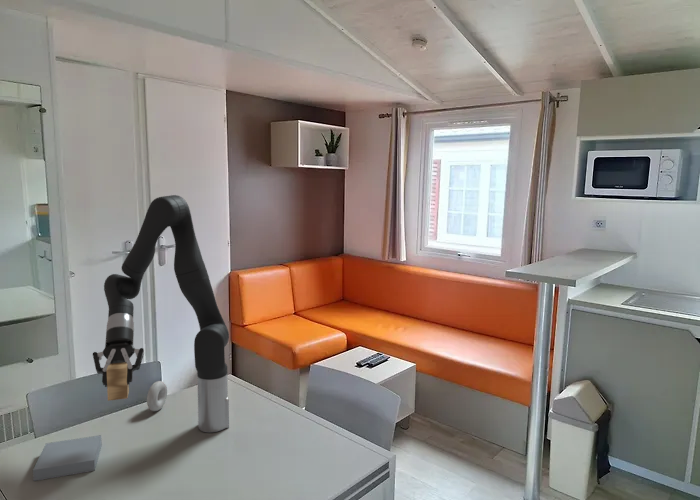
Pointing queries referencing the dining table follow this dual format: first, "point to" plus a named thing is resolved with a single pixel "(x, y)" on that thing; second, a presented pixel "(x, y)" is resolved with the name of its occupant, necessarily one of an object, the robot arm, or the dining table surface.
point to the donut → (157, 396)
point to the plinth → (68, 457)
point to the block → (117, 381)
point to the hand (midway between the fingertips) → (117, 384)
